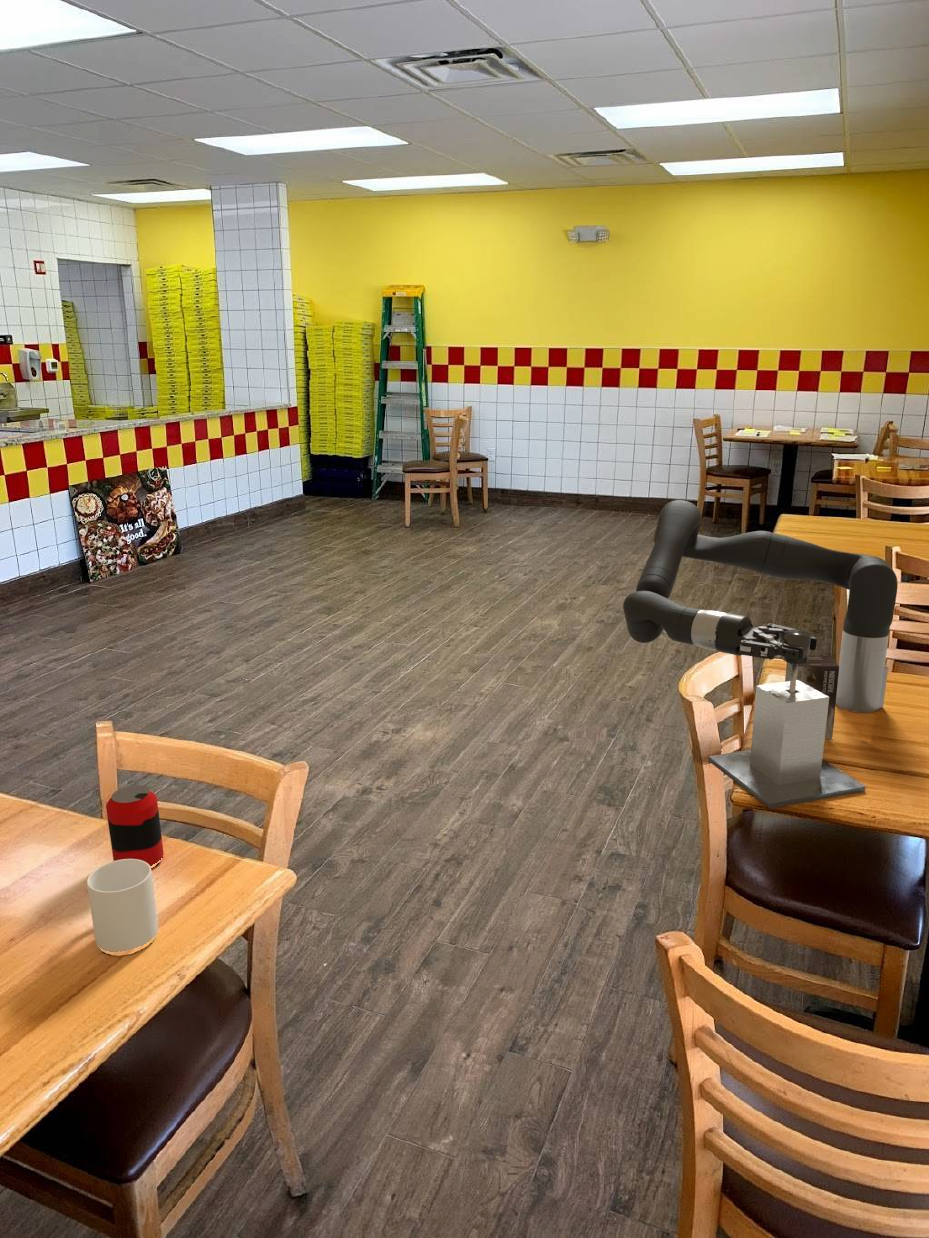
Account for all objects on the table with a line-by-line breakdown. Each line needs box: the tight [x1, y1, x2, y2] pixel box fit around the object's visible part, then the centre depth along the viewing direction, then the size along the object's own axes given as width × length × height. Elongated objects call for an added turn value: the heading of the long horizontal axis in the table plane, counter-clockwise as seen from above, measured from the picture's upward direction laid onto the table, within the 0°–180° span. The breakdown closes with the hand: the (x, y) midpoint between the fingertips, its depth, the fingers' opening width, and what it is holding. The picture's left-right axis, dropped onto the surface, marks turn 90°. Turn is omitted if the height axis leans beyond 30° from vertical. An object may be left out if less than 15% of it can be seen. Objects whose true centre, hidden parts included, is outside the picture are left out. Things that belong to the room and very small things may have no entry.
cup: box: [86, 859, 159, 952], centre depth 129 cm, size 8×12×10 cm
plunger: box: [782, 629, 812, 694], centre depth 169 cm, size 6×6×22 cm
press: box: [707, 680, 867, 809], centre depth 172 cm, size 20×20×17 cm
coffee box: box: [784, 655, 839, 740], centre depth 190 cm, size 9×6×16 cm
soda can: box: [105, 785, 165, 866], centre depth 146 cm, size 8×8×12 cm
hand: (810, 649), depth 165 cm, fingers open, 6 cm apart
